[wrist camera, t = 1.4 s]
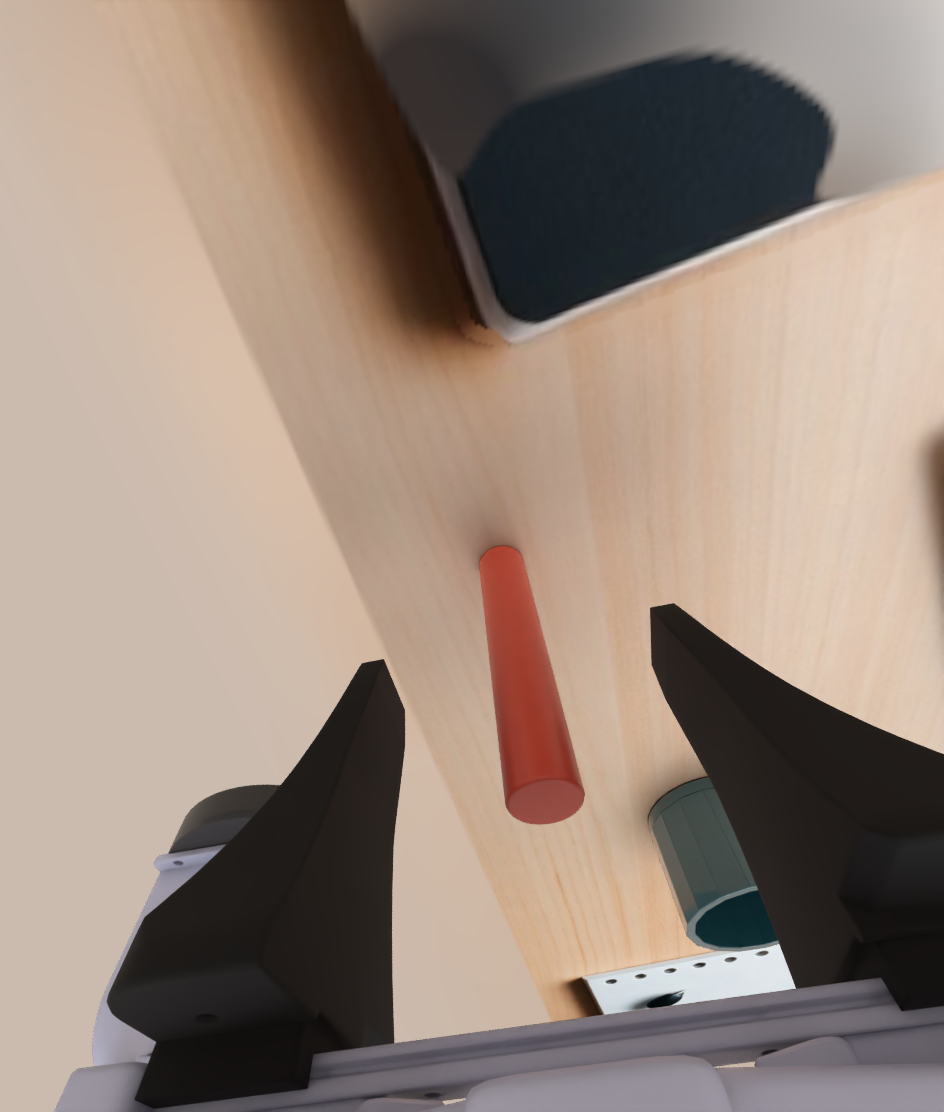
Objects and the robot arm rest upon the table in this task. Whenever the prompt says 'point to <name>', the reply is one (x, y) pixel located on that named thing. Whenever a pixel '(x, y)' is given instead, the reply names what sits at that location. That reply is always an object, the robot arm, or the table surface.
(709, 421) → the table surface
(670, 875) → the cup
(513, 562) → the red wooden dowel
